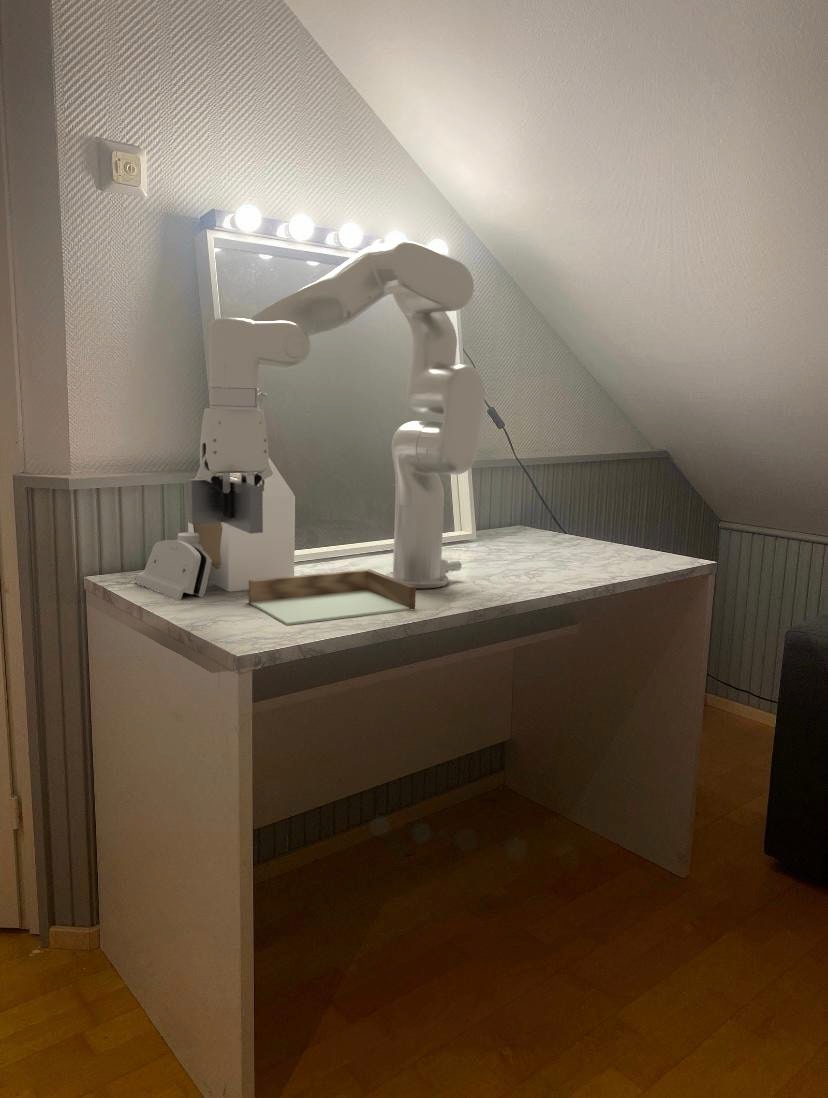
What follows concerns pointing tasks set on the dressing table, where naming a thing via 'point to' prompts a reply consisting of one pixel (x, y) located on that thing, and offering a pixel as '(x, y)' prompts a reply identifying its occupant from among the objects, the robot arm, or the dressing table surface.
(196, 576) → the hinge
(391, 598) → the walnut wall short
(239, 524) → the bracket
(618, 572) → the dressing table surface
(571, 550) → the dressing table surface
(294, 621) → the sage mat
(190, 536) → the pill bottle
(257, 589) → the walnut wall long
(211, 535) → the gable box
